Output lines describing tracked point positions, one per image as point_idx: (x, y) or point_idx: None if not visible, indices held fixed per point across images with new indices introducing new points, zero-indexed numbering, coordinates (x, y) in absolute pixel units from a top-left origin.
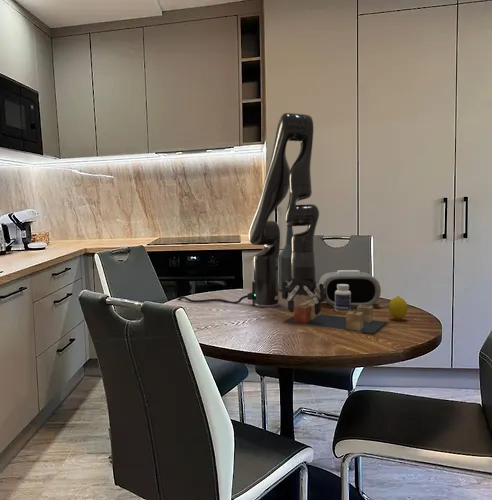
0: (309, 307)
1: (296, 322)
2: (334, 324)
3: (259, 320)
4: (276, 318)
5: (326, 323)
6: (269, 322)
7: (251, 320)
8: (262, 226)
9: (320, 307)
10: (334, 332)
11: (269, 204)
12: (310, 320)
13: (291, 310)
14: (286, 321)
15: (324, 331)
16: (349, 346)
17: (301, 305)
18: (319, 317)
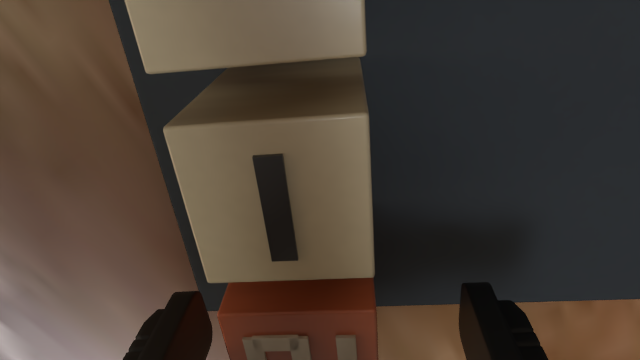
0: (376, 324)
1: None
2: (608, 203)
3: (35, 327)
4: (65, 225)
5: (530, 208)
6: (125, 338)
7: (2, 348)
8: None
9: (541, 355)
10: (622, 349)
11: None
12: None
13: (207, 349)
14: (215, 302)
15: (550, 357)
16: None
17: (232, 277)
18: (387, 9)
